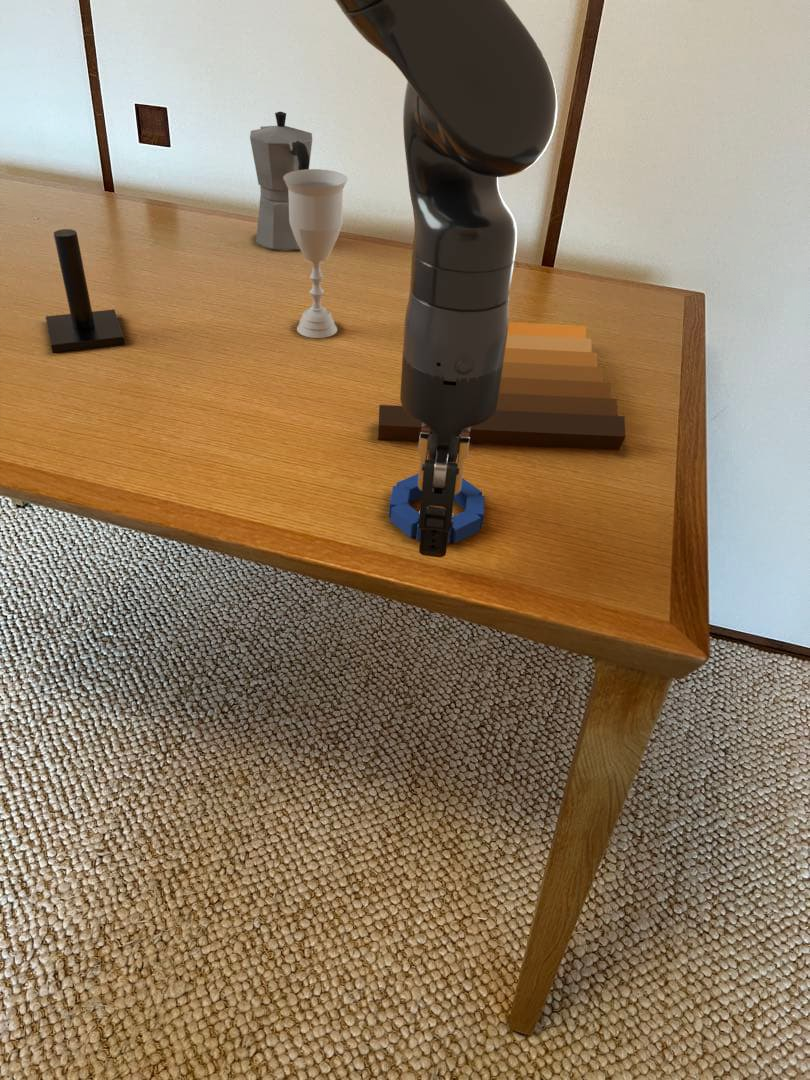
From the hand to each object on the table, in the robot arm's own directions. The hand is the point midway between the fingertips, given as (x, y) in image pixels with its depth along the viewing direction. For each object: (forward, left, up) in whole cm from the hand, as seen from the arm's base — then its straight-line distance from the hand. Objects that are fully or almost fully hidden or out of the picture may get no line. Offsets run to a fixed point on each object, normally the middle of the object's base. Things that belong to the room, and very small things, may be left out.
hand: (436, 522), depth 70 cm
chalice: (+3, +42, -2) cm, 43 cm away
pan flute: (+17, +22, -2) cm, 28 cm away
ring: (+1, +3, -2) cm, 4 cm away
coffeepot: (+8, +72, -2) cm, 73 cm away
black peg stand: (-24, +48, -2) cm, 54 cm away
